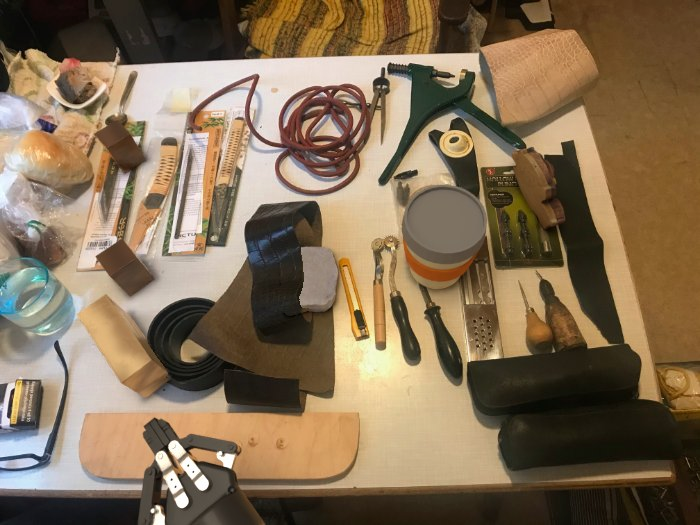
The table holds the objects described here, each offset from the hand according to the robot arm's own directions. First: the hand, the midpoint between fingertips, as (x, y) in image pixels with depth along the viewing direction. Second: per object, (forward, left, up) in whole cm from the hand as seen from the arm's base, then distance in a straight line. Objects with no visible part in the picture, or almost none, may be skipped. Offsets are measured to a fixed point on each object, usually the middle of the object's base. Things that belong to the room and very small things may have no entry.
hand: (151, 423), depth 59 cm
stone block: (+29, +10, -18) cm, 36 cm away
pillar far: (+20, +56, -18) cm, 62 cm away
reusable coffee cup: (+47, -2, -18) cm, 51 cm away
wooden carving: (+70, -4, -18) cm, 72 cm away
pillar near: (+7, +31, -18) cm, 37 cm away
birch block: (0, +19, -18) cm, 26 cm away
